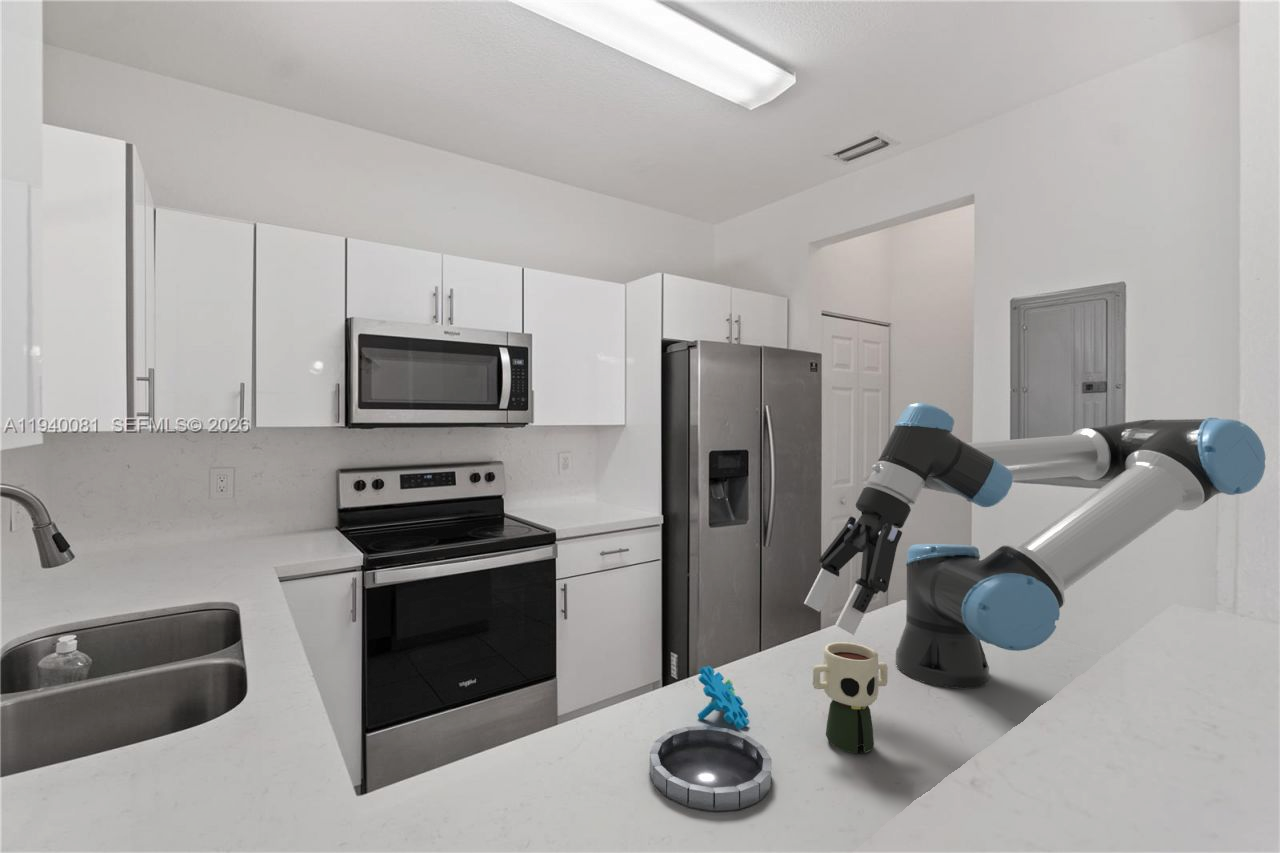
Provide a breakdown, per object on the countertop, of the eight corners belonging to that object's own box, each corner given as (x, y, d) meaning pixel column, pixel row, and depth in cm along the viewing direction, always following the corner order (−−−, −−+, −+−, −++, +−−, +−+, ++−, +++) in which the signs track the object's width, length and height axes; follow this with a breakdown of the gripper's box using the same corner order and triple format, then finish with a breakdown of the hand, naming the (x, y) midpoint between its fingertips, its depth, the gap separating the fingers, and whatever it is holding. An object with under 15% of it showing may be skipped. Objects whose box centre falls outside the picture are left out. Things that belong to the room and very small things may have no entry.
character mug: (823, 761, 78) (825, 662, 78) (801, 734, 85) (802, 643, 85) (900, 756, 79) (902, 659, 79) (872, 729, 86) (873, 640, 86)
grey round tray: (748, 739, 83) (748, 723, 83) (789, 806, 68) (790, 787, 68) (642, 745, 81) (642, 729, 81) (661, 816, 66) (661, 797, 66)
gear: (746, 733, 82) (698, 671, 85) (714, 759, 82) (668, 697, 86) (758, 709, 92) (715, 655, 95) (730, 732, 93) (688, 678, 96)
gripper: (837, 482, 105) (781, 589, 103) (907, 486, 80) (836, 628, 78) (873, 502, 105) (819, 610, 103) (955, 513, 80) (886, 655, 79)
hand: (826, 618), depth 91 cm, fingers open, 13 cm apart
